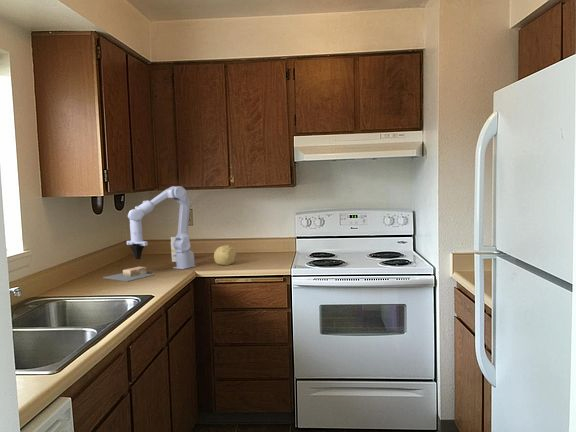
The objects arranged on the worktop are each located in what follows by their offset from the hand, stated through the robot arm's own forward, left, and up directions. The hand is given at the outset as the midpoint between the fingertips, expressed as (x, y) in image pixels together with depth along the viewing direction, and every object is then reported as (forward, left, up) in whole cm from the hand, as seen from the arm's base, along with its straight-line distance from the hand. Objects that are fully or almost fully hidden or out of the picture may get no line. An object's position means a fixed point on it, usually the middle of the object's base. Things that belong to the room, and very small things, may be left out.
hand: (138, 259), depth 256 cm
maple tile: (-3, 0, -6) cm, 6 cm away
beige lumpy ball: (-40, +23, -8) cm, 47 cm away
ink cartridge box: (-38, -12, -8) cm, 41 cm away
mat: (+6, 0, -8) cm, 10 cm away
